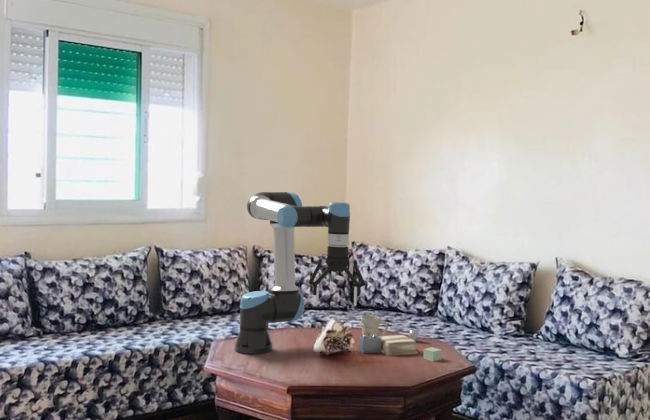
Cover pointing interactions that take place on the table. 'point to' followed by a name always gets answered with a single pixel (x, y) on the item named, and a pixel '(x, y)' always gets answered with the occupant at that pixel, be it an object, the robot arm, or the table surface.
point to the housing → (369, 344)
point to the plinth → (397, 345)
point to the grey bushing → (413, 334)
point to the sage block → (432, 354)
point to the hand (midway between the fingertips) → (336, 304)
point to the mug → (372, 325)
